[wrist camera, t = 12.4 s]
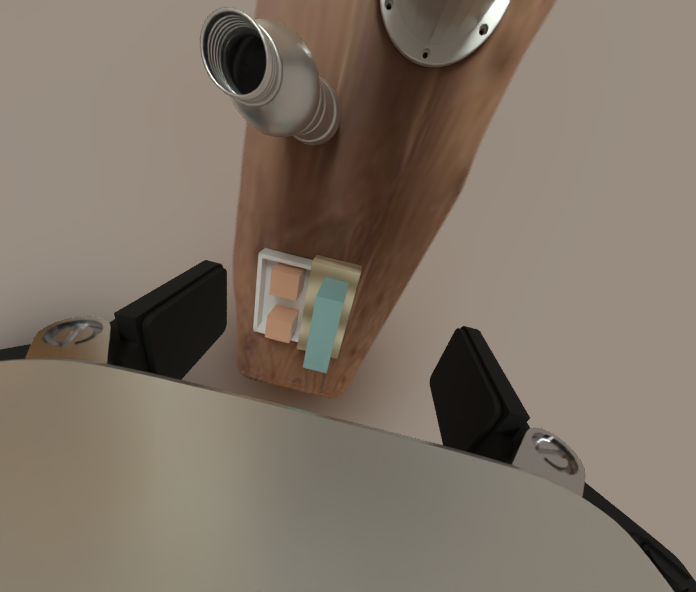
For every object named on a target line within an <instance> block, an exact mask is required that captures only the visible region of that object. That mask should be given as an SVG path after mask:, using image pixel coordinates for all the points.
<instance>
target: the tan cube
mask: <svg viewBox="0 0 696 592" xmlns="http://www.w3.org/2000/svg"><path fill="white" fill-rule="evenodd" d="M305 274H306V269H304V268H300V267H296V266H292V265H288V264H285V263H281V262H278V263H277V264H276V265H275V266H274V267H273V268H272V269H271V281H270V293H269V295H274V296H278V297H282V298H286V299H290V300H294V301H296V300H297V299H298V297H299V295H300V294H301V292H302V290H303V287H304V280H305Z"/></svg>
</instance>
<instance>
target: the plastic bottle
mask: <svg viewBox="0 0 696 592" xmlns="http://www.w3.org/2000/svg"><path fill="white" fill-rule="evenodd" d="M200 51H201V57H202V60H203V63H204V66H205V68H206V70H207V73H208V74H209V76H210V78H211V79H212V81H213V82H214V83H215V84H216V85H217V87H219V88H220V89H221V90H222V91H223V92H224V93H226V94H228V95H229V96H230V98H231V100H232V102H233V104H234V105H235V107H236V109H237V110H238V111H239V113H240V114H241V115H242V116H243V118H244V119H245V120H246V121H247V122H248V123H249V124H250V125H251V126H252V127H253V128H255V129H256V130H258V131H260V132H261V133H263V134H266V135H269V136H274V137H289V136H293V137H295V138H296V139H297V140H298V141H300V142H302V143H304V144H307V145H312V146H316V145H321V144H324V143H326V142H327V141H329V140H330V139H331V138H332V137H333V136H334V134H335V133H336V131H337V129H338V127H339V124H340V119H341V107H340V102H339V98H338V96H337V94H336V91H335V90H334V88H333V87H332V86H331V84H330V83H329V82H328V81H327V80H325V79H324V78H322V77H321V76H319V73H318V70H317V67H316V64H315V61H314V59H313V57H312V55H311V53H310V50H309V48H308V47H307V46H306V44H305V43H304V41H303V40H302V38H301V37H300V36H299V35H298V34H296V33H295V32H294V31H293V30H292V29H290V28H289V27H287V26H286V25H284V24H282V23H279V22H276V21H273V20H269V19H255V20H253V19H252V18H251V17H250V16H249V15H247V14H246V13H244V12H243V11H241V10H238V9H236V8H232V7H223V8H219V9H217V10H215V11H213V12H212V13H211V14H210V15H209V16H208V17H207V19H206V20H205V22H204V25H203V27H202V30H201V36H200Z"/></svg>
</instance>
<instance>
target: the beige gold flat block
mask: <svg viewBox="0 0 696 592" xmlns="http://www.w3.org/2000/svg"><path fill="white" fill-rule="evenodd" d="M361 269H362V266H359V265H356V264H352V263H348V262H344V261H340V260H336V259H332V258H328V257H324V256H321V255H316V256H315V258H314V259H313V261H312V265H311V270H310V276H309V282H308V287H307V293H306V299H305V305H304V310H303V316H302V322H301V327H300V333H299V339H298V344H297V349H300V350H304V351H306V348H307V342H308V337H309V331H310V326H311V321H312V315H313V310H314V305H315V299H316V295H317V293H318V291H319V289H320V287H321V284H322V282H323V280H324V278H325V277H328V278H332V279H336V280H340V281H344V282H348V283H349V284H348V288H347V292H346V296H345V300H344V304H343V308H342V312H341V317H340V321H339V325H338V329H337V333H336V337H335V341H334V345H333V349H332V353H331V357H332V358H336V359H337V358H338V354H339V350H340V347H341V343H342V340H343V336H344V332H345V329H346V325H347V322H348V318H349V314H350V311H351V307H352V303H353V300H354V296H355V293H356V289H357V285H358V282H359V278H360V275H361Z"/></svg>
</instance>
